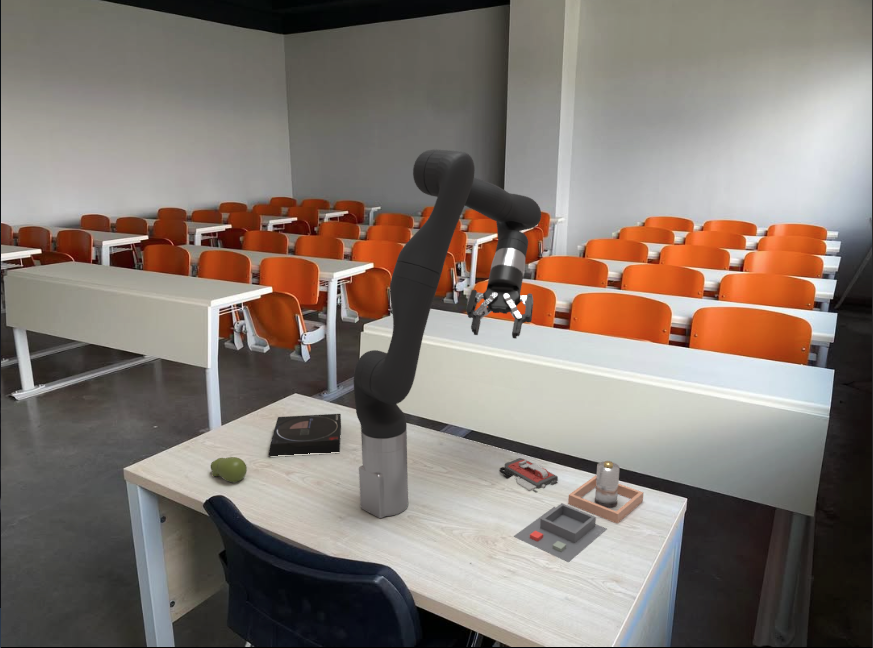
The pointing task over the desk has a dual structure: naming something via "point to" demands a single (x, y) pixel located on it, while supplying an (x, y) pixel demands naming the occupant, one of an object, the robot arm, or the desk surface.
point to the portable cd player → (306, 435)
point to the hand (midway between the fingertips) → (494, 335)
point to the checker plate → (562, 532)
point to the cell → (607, 484)
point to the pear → (229, 468)
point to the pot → (601, 510)
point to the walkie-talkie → (528, 474)
